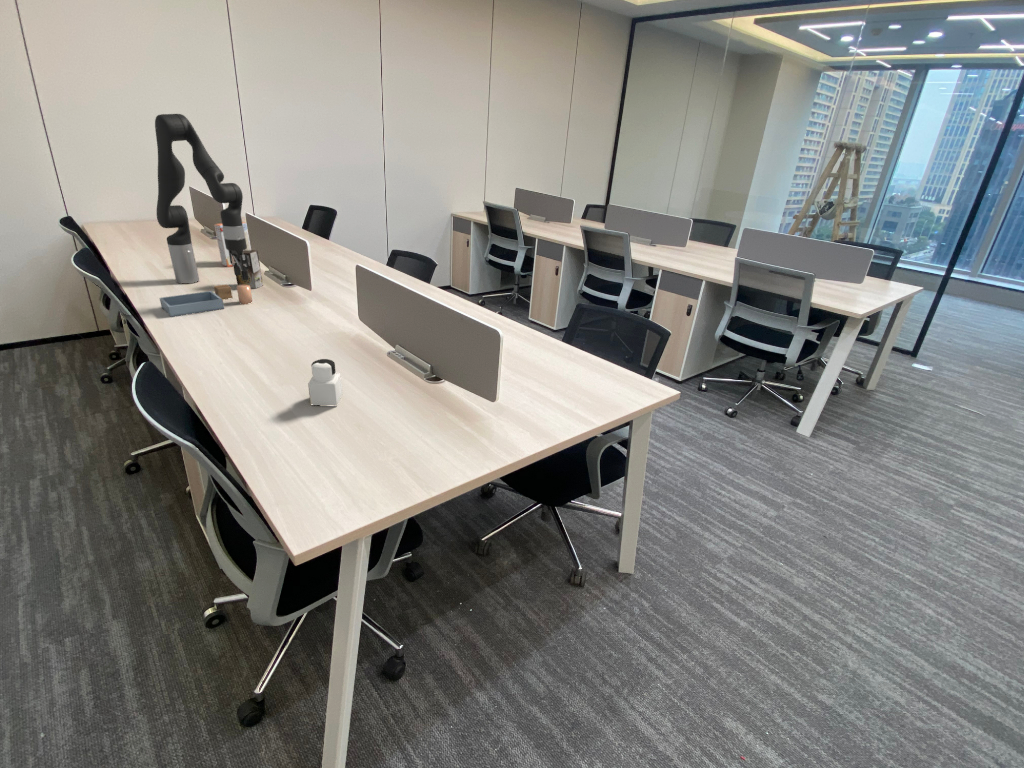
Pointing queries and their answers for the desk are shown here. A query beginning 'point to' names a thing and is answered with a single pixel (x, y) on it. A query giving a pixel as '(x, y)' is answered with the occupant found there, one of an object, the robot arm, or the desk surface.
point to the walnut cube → (223, 291)
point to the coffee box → (251, 270)
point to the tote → (191, 303)
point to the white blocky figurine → (324, 383)
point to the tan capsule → (244, 294)
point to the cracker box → (221, 243)
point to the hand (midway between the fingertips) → (241, 277)
